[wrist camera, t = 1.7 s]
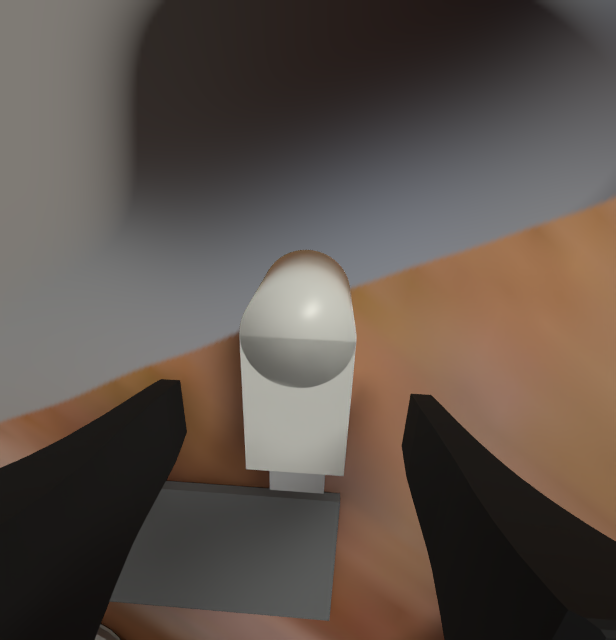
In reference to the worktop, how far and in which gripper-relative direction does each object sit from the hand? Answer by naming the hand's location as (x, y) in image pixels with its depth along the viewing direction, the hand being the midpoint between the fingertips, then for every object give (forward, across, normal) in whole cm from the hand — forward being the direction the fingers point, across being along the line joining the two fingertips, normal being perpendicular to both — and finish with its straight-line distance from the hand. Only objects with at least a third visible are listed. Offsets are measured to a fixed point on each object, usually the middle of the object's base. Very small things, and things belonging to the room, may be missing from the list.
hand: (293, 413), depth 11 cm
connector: (+4, 0, 0) cm, 4 cm away
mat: (+4, +5, +13) cm, 15 cm away
